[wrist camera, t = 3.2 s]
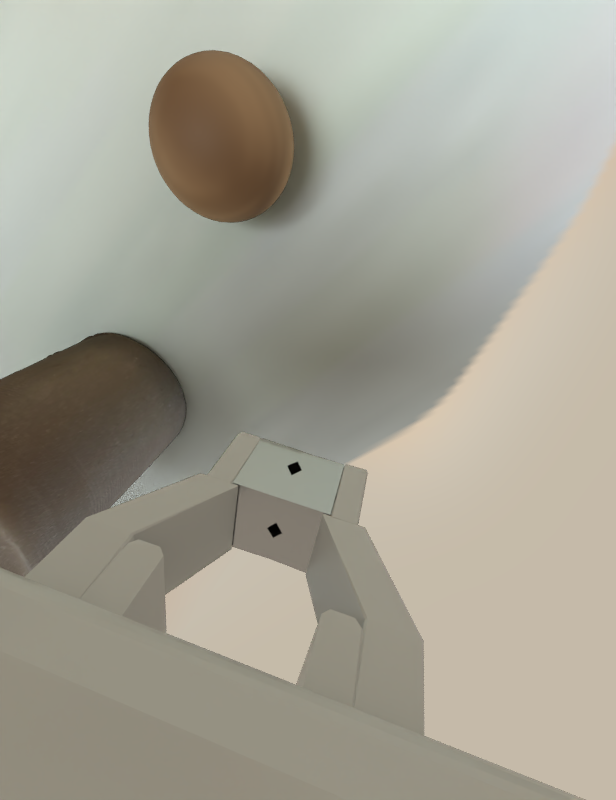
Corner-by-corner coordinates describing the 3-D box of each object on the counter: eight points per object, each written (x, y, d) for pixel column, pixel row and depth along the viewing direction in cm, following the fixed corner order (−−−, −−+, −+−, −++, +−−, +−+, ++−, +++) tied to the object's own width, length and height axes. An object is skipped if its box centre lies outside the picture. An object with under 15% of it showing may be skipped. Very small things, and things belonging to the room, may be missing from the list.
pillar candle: (50, 338, 28) (-258, 468, 15) (161, 325, 25) (-104, 472, 12) (106, 446, 32) (-96, 618, 19) (206, 446, 29) (45, 647, 16)
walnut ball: (248, 242, 21) (194, 259, 16) (172, 143, 19) (86, 125, 14) (333, 161, 18) (301, 148, 13) (252, 37, 17) (181, -31, 11)
